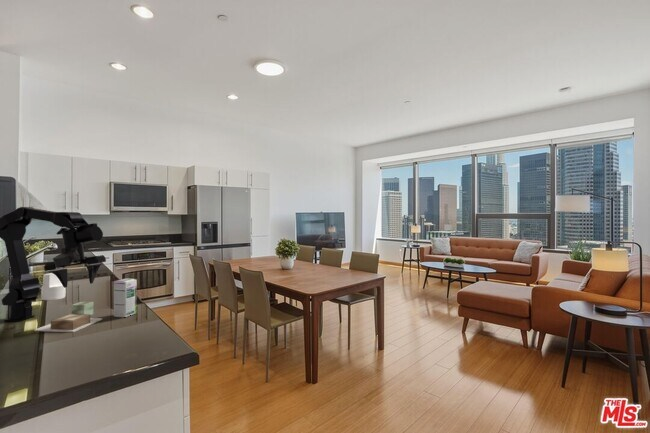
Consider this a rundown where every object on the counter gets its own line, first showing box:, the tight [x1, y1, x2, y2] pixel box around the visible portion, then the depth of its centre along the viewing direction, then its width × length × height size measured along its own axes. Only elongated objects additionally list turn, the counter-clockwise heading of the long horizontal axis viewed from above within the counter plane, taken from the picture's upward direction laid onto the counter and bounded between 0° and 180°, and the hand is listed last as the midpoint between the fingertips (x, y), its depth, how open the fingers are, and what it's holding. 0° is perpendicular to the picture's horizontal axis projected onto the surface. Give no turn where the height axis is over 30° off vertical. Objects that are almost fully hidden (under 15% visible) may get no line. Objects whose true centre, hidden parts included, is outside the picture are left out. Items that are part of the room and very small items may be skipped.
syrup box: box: [113, 278, 138, 318], centre depth 131 cm, size 6×6×14 cm
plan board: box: [33, 313, 103, 333], centre depth 118 cm, size 14×14×4 cm
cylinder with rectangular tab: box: [40, 272, 67, 301], centre depth 155 cm, size 9×9×12 cm
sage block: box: [71, 301, 95, 316], centre depth 129 cm, size 5×5×5 cm
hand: (78, 285), depth 121 cm, fingers open, 9 cm apart
